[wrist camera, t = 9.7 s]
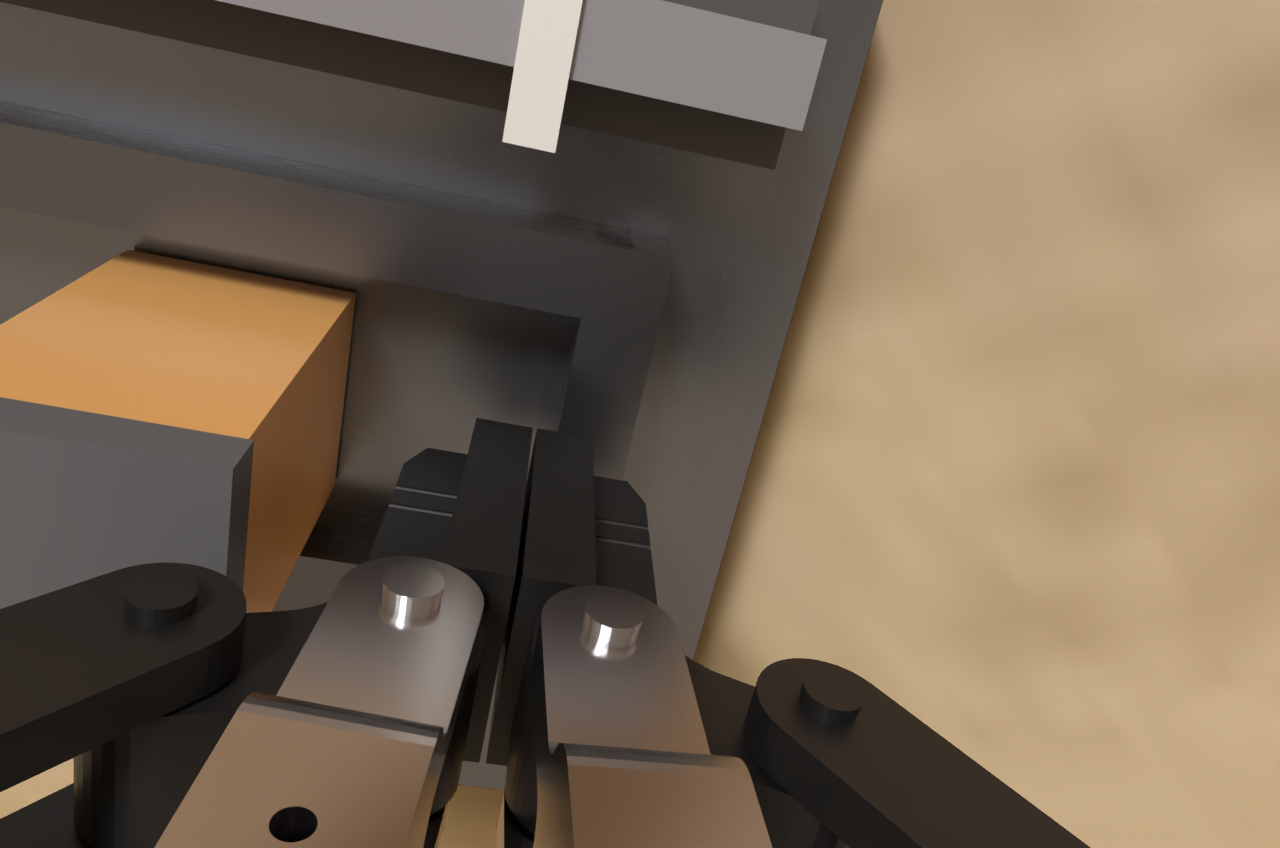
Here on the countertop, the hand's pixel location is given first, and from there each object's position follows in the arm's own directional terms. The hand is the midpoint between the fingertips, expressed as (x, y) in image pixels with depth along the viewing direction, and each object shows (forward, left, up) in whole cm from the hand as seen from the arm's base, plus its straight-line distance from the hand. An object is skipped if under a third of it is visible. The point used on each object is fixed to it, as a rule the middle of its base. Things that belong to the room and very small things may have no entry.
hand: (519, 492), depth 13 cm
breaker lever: (+4, 0, -2) cm, 5 cm away
